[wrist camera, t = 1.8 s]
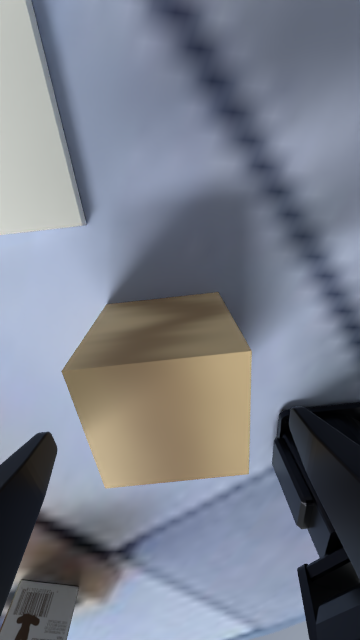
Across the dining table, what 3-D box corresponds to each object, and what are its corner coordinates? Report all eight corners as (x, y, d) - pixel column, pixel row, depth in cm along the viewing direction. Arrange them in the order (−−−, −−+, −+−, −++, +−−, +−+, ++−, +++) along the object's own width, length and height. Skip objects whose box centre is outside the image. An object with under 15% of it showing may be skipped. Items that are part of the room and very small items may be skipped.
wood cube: (217, 291, 13) (251, 351, 8) (221, 381, 16) (248, 474, 10) (107, 303, 13) (61, 371, 8) (128, 390, 16) (105, 488, 10)
